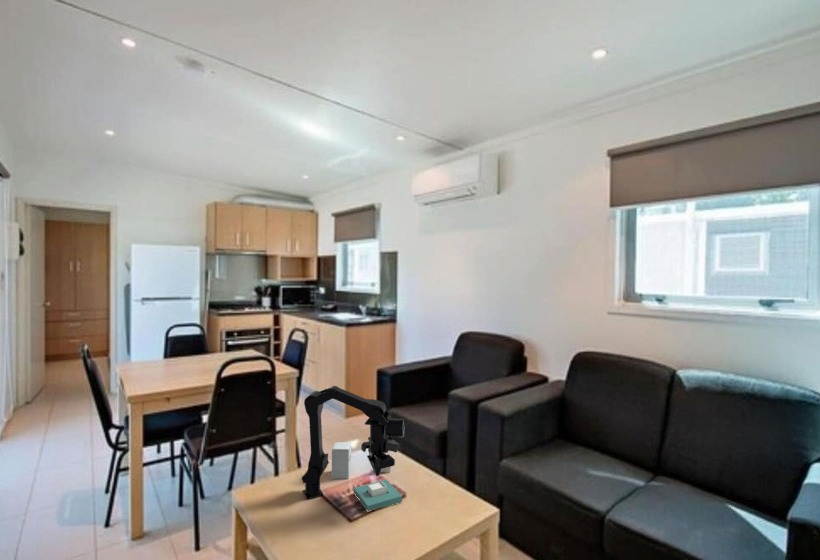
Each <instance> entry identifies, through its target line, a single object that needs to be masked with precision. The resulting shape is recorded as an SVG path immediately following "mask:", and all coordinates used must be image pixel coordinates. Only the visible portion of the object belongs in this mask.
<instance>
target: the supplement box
mask: <svg viewBox="0 0 820 560" xmlns="http://www.w3.org/2000/svg"><path fill="white" fill-rule="evenodd" d="M351 471H352V442H343V441H342V442H339V441H338V442H334V443H333V446H332V449H331V479H335V480H337V479H341V480H349V478H350V474H351Z"/></svg>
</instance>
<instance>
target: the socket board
mask: <svg viewBox="0 0 820 560" xmlns="http://www.w3.org/2000/svg"><path fill="white" fill-rule="evenodd" d="M379 482H383V483H384V484H385V485H386V486H387V494H383V495H380V496H376V497H373V498H371V497H370V496H369V494H368V485H371V484H375V483H379ZM354 493H355V494H356V496H357V497H358V498H359V499H360V501H361V502H362V504H363V505H364V506H365V508H366V509H367V510H368V511H369V510H373V509H376V508H381V507H385V506H389V505H392V504H395V505H397V504H396V503H399V504H401V503H400V502H402V503H403V495H402V494H401V493H400V492H399V491H398V490H397V489H396V488H395V487H394V486H393V484H391V483H390V482H389V480H387V479H382V480H379V481H374V482H371V483H367V484H363V485H359V486H357V487H356V486H355V487H354V488H353V494H354ZM362 504H361V505H362ZM392 506H393V505H392ZM389 507H390V506H389ZM365 508H364V509H365ZM385 508H386V507H385Z"/></svg>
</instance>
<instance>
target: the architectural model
mask: <svg viewBox="0 0 820 560" xmlns="http://www.w3.org/2000/svg"><path fill="white" fill-rule="evenodd" d="M380 473H385V474H386V473H388V474H389V473H390V474H391V467H387V468H382V469H381V471H380Z"/></svg>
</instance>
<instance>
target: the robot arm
mask: <svg viewBox="0 0 820 560" xmlns="http://www.w3.org/2000/svg"><path fill="white" fill-rule="evenodd" d="M330 400H335V401H338V402H340V403H343V404H345V405H347V406H350V407H352V408H353V409H357V410H359V411H360V412H362V413H363V414H364V415H365V416H366V417H368V418H367V419H366V421H365V422H364V425H367V426H368V425H369V436H368V437H367V440H368V441H365V442H362V444H361V445H360V446H361V447H360V449H361V451H362V452H363V453H365V452H366V451H367V452H368V455H367V456H366V458H367V459H368V461H369V463H370V466H371V468H372V470H373V472H374V475H375V477H379V476H380V473H381V472H380V471H381V469H382V468H387V467H390V468H391V467H394V466H395V465H396V459H395V458H393V456H391V454H388V453H389V452H393V453H397V452H398V449H399V446H400V444H399V443H398V441H396V440H394V439H393V438H404V437H405V429H406V425H405V422H404V421H405V419H404V418H401V417H400V418H392V415H391V414H390V413H389V411H388V410H387V406H386V403H385V402H383V401H382V400H378V399H374V398H373V399H372V398H364V397H361V396H359V395H357V394H354V393H352V392H350V391H347V390H345V389H343V388H340V387H339V386H338V385H333V386H331V387H328V388H325V389H323V390H320V391H319V390H315V391H313V392H311V393H310V394H309V395H307V396H306V397H305V398H304V402H303V403H304V409H305V413H306V414H307V416H308V420H309V439H310V441H309V442H310V455H309V456H310V457H309V460H308V463H307V464H308V465H307V470H306V471H305V472H304V474H303V475H302V476H301V480H302V483H303V484H305V485H304V486H305V487H304V489H303V490H302V493H303V495H304V497H305V499H306V500H309V499H313V498H317V497H321V496H323V495H324V493H323V491H322V490H321V476H322V475H323V473H324V472H325V470H326V469H327V467H328V465H329V464H330V462H329V458H328V457H329V453H325V451H324V449H323V429H322V412H323V408H324V403H326V402H327V403H328V401H330ZM322 494H323V495H322Z"/></svg>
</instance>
